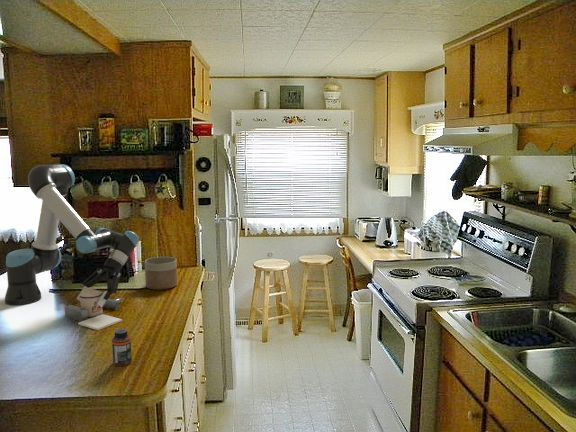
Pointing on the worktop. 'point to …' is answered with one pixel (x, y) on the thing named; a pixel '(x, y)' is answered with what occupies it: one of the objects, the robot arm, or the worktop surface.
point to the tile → (99, 322)
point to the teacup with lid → (91, 301)
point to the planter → (161, 273)
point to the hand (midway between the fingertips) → (88, 303)
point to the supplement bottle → (121, 348)
